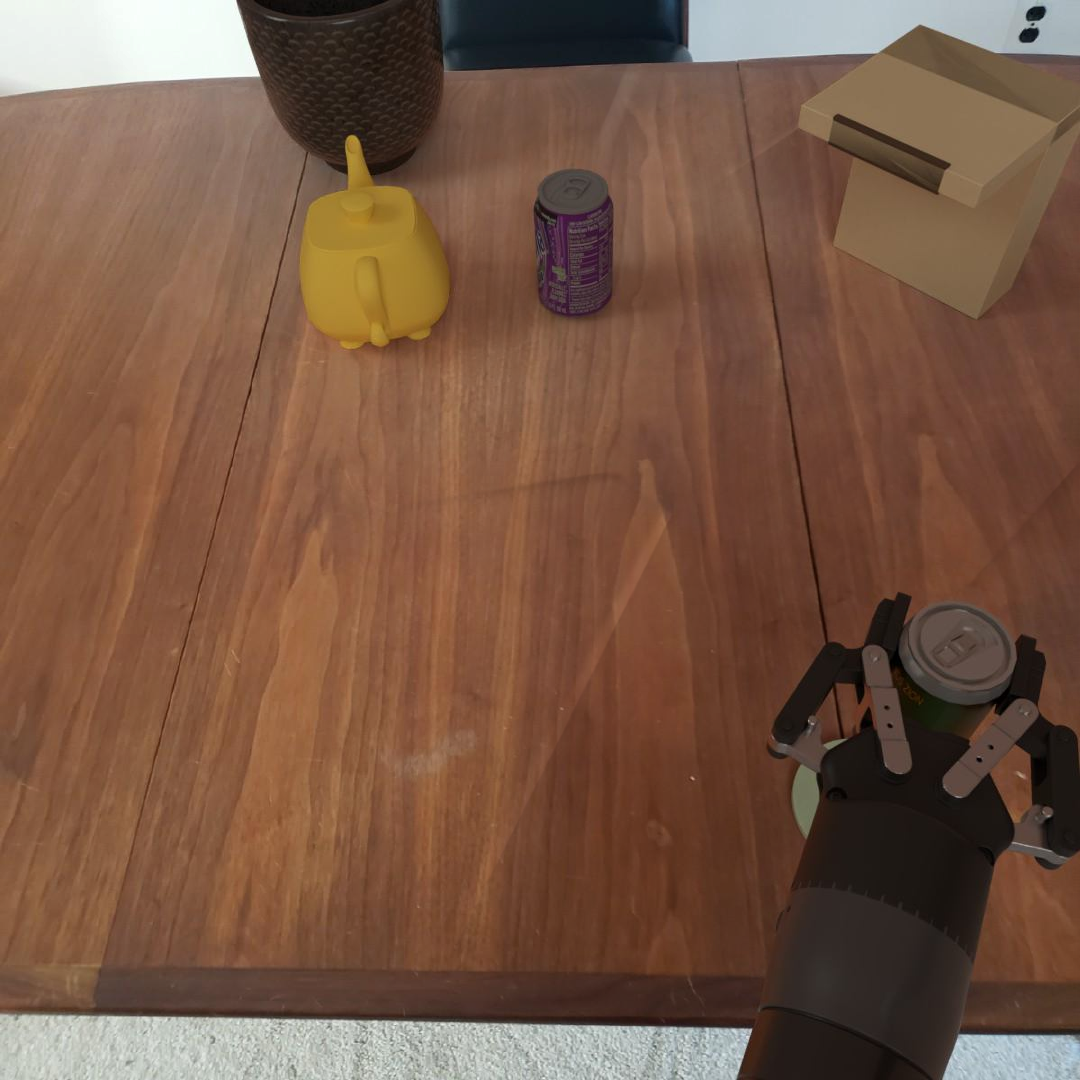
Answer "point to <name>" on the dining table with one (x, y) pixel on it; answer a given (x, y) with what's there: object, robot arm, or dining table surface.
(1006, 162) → the lidded cardboard box
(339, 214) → the teapot
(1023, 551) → the dining table surface
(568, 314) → the beverage can
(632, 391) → the dining table surface
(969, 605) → the beer can
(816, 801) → the coaster
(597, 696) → the dining table surface
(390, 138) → the planter
